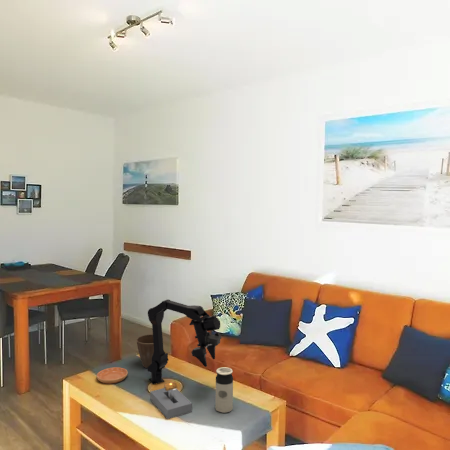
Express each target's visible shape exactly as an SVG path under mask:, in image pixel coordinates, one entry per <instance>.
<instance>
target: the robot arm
mask: <svg viewBox="0 0 450 450" xmlns="http://www.w3.org/2000/svg"><path fill="white" fill-rule="evenodd" d="M167 310H170V311H172V312H176V313H178V314H183V315H184V316H186V317H187V318H188V319H191V320H190V323H189V326H193V328H194V332H195V336H194V338H195V339H197V342H198V344H197V347H195V348H193V349H192V350H191V356H192V357H194V358H196V359H197V360H198V361H199V362H200V363H201V364H202V366H204V368H207V367H208V364H207V363H208V362H207V357H206V356H207V353H209V355H210V357H211V359H212V360H216V347H218V345H219V344H221V340H222V335H221V333H220V332H219V331H218V330H220V329H221V321H220V319H219V318H218V317H217V315H216V314H215V315H209V314H208V312H207V311H205V309H204V308H203V306H201V305H188V304H184V303H181V302H176V301H174V300H171V299H167V298H166V299H165V300H162V301H161V302H160V303H159V304H157V305H156V306H154V307H151V308H149V309H148V310H147V317H148V321H149V322H150V324H151V329H152V335H153V344H154V353H153V356H152V362H151V364H150V365H149V366H148V367H147V368H146V369H147V371H148V373H150V378H148V381H149V382H150V384H152V385H156V383H157V384H160V383H165V379H163V369H165V368H166V366H167V365H168V362H169V354H168V352H166V351H165V350H164V337H163V328H162V326H163V325H162V324H163V320H164V315H165V312H166V311H167ZM212 331H218V332H215V334H211V332H212Z"/></svg>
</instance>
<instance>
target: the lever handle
mask: <svg viewBox="0 0 450 450" xmlns="http://www.w3.org/2000/svg"><path fill="white" fill-rule="evenodd" d="M164 388H165V390H166V391H168V390H169V399H170V400H171V401H172V402H173V389H178V384H177V382H176V380H175V381H174V380H173V381H171V382H167V383H164Z"/></svg>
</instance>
